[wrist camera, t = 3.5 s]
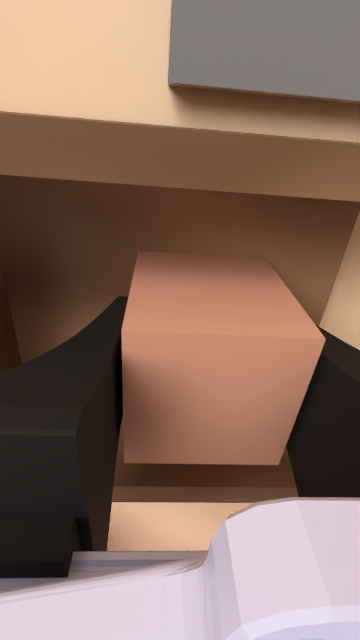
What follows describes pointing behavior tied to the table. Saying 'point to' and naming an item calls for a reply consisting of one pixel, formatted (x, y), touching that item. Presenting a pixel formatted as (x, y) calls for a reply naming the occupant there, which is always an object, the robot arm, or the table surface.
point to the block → (212, 360)
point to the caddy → (161, 243)
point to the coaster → (268, 47)
